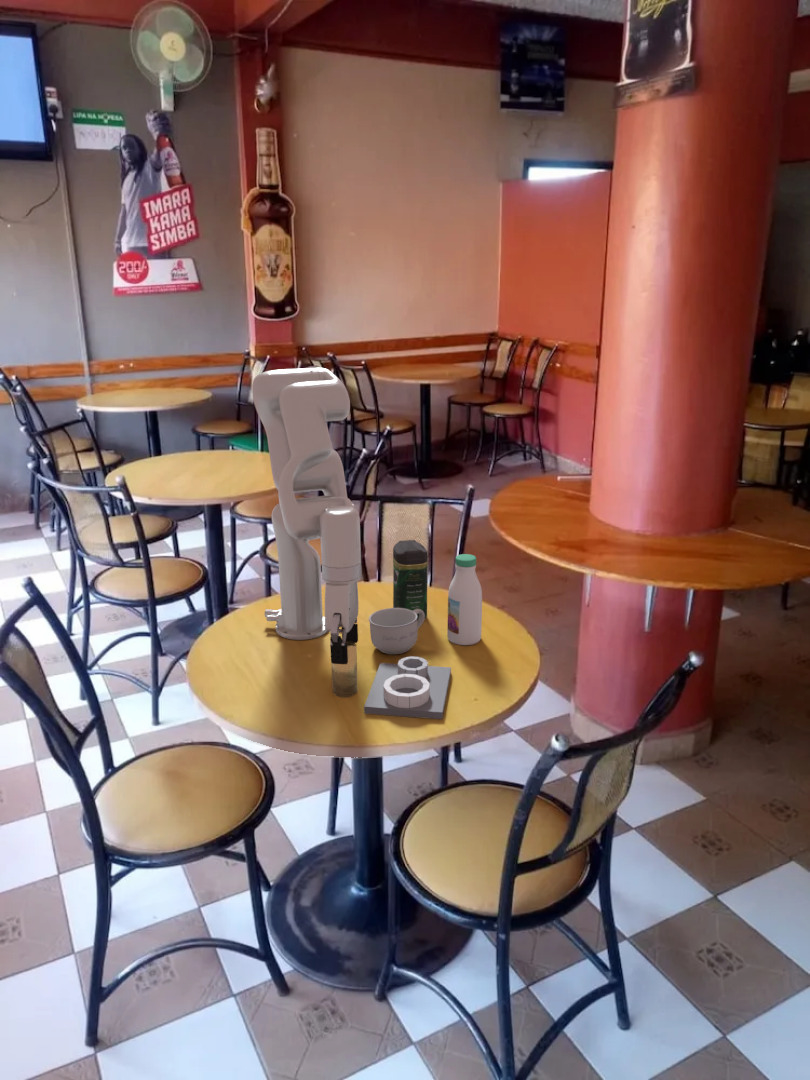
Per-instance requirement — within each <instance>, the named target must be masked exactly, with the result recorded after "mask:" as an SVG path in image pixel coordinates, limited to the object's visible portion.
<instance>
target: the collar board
mask: <svg viewBox="0 0 810 1080" xmlns="http://www.w3.org/2000/svg"><path fill="white" fill-rule="evenodd" d="M451 675H452V667H450V666H435V665H432V666H431V665H429V662H428V660H427V659H425V658H424V657H420V656H414V655H413V656H411V655H409V656H406V657H402V658H400V659H398V662H397V663H391V662H389V663H388V662H380V663H379V666H378V669H377V670H376V673H375V676H374V679H373V682H372V685H371V687H370V690H369V693H368V695H367V698H366V701H365V703H364V705H363V708H364V709H363V710H364V711H363V713H364V714H365V715H379V716H380V715H382V716H393V717H408V718H419V719H421V718H422V719H433V720H443V718H444V717H443V716H444V711H445V706H446V701H447V696H448V691H449V686H450V680H451Z"/></svg>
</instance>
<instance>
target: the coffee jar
mask: <svg viewBox="0 0 810 1080" xmlns="http://www.w3.org/2000/svg"><path fill="white" fill-rule="evenodd" d="M428 557H429V556H428V550H427V548H426V547H425V546H424V545H423V543H422V544H421V543H420V542H418V541H416V540H415V539H408V540H407V539H405V540H399V541H398V542H397V543H395V545H393V548H392V564H393V567H392V569H393V571H392V572H393V578H392V579H393V581H392V583H393V585H392V586H393V591H392V593H393V595H392V596H393V597H392V600H393V601H392V604H393V606H392V608H404V609H409V610H411V611H413V610H415V609H421V610H422V611H423V612H424V614H425V619H424V620H426V618H427V617H428V563H429V561H428ZM417 617H418V618H417V621H418V619H419V613H418V614H417Z"/></svg>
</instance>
